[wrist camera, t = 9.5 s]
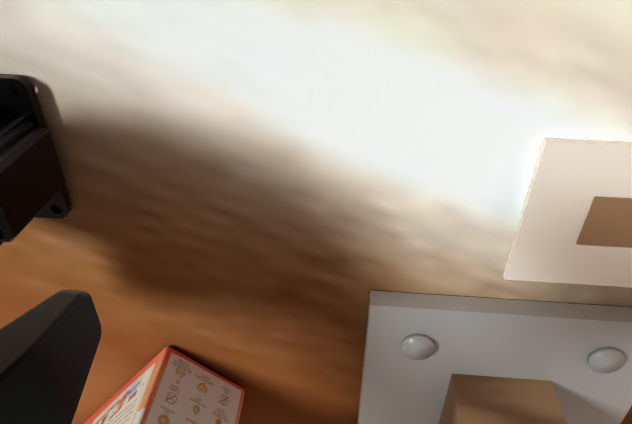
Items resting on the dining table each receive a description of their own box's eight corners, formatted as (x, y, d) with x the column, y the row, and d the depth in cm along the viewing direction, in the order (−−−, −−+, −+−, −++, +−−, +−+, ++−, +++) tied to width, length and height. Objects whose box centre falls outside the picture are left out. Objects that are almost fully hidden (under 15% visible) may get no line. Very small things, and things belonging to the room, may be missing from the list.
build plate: (354, 449, 33) (354, 469, 31) (370, 290, 25) (370, 309, 23) (577, 468, 32) (585, 488, 31) (669, 309, 24) (683, 330, 23)
